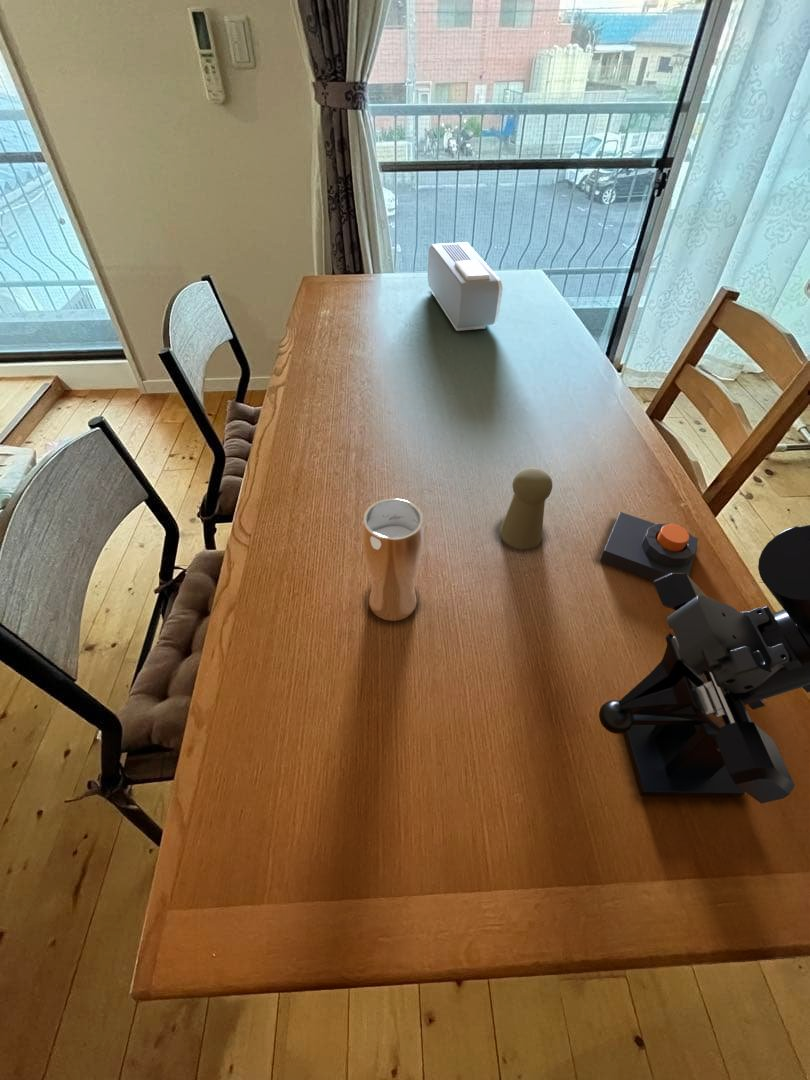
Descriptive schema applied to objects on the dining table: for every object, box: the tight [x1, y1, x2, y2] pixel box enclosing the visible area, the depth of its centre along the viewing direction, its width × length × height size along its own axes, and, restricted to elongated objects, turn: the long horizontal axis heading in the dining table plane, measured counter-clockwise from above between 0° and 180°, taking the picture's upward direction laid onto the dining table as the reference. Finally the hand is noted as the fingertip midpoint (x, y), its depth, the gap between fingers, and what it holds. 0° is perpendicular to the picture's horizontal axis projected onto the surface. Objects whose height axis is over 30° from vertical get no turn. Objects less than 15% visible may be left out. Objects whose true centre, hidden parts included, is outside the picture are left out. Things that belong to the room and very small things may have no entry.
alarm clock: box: [427, 241, 504, 332], centre depth 129 cm, size 27×9×12 cm, turn 13°
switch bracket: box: [622, 690, 746, 799], centre depth 54 cm, size 10×8×11 cm
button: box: [657, 523, 690, 552], centre depth 74 cm, size 4×4×2 cm
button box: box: [599, 511, 699, 582], centre depth 77 cm, size 11×9×4 cm
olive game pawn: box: [499, 467, 553, 550], centre depth 77 cm, size 6×6×11 cm
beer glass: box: [362, 498, 425, 622], centre depth 66 cm, size 7×7×15 cm
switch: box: [598, 699, 707, 735], centre depth 52 cm, size 12×3×3 cm, turn 90°
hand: (621, 707), depth 50 cm, fingers closed, pressing on switch
